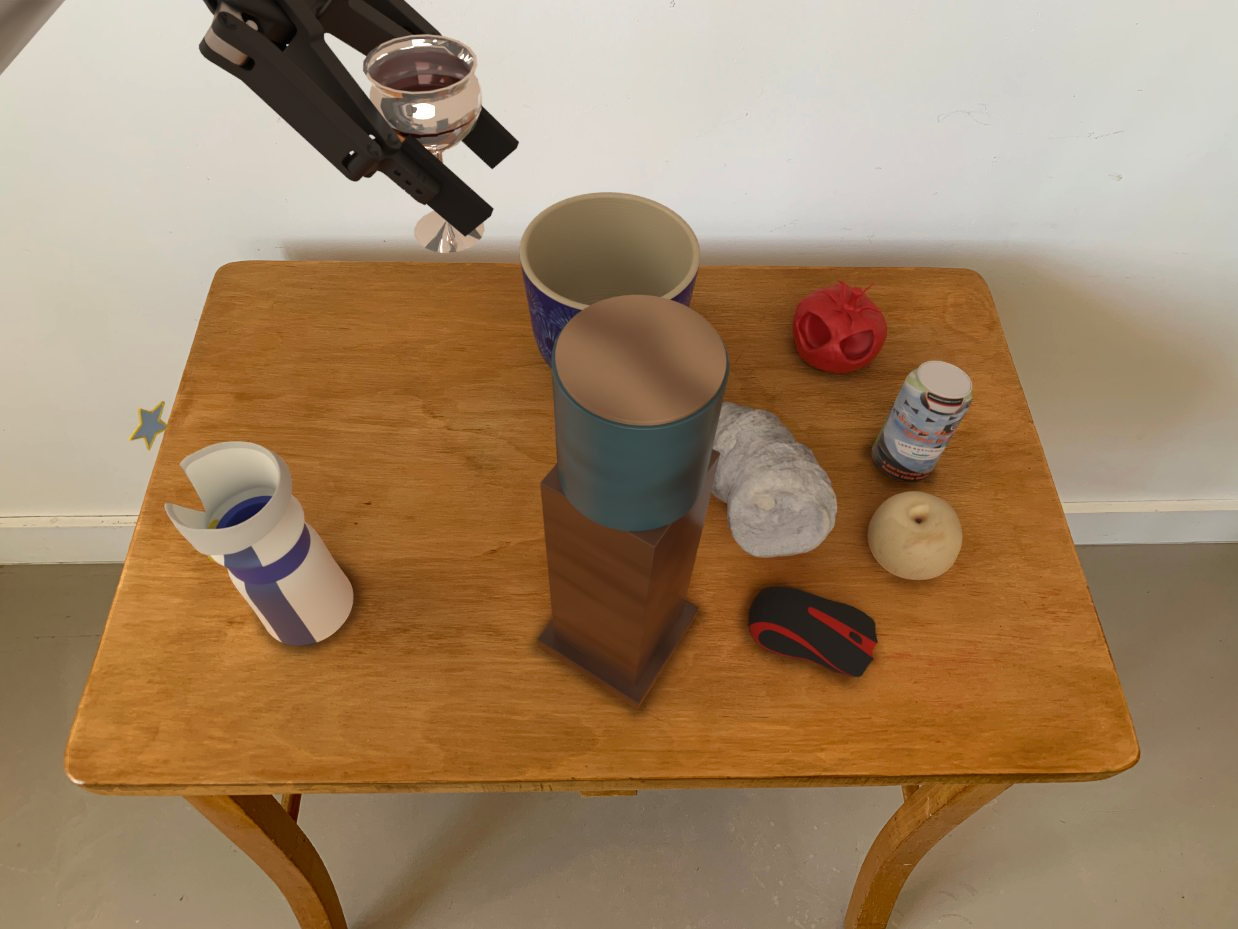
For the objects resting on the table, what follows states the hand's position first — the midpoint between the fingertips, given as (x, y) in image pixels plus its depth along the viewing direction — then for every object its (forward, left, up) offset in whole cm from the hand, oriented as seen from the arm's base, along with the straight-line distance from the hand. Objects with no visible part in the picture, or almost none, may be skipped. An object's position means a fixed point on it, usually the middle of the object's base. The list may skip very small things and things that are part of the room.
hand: (492, 187), depth 53 cm
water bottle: (-23, +6, -31) cm, 40 cm away
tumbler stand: (-10, -18, -31) cm, 37 cm away
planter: (+16, 0, -31) cm, 35 cm away
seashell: (+8, -20, -31) cm, 38 cm away
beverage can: (+21, -32, -31) cm, 49 cm away
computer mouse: (-1, -32, -31) cm, 45 cm away
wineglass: (-2, +3, -4) cm, 5 cm away
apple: (+11, -36, -31) cm, 49 cm away
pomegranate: (+31, -20, -31) cm, 48 cm away
